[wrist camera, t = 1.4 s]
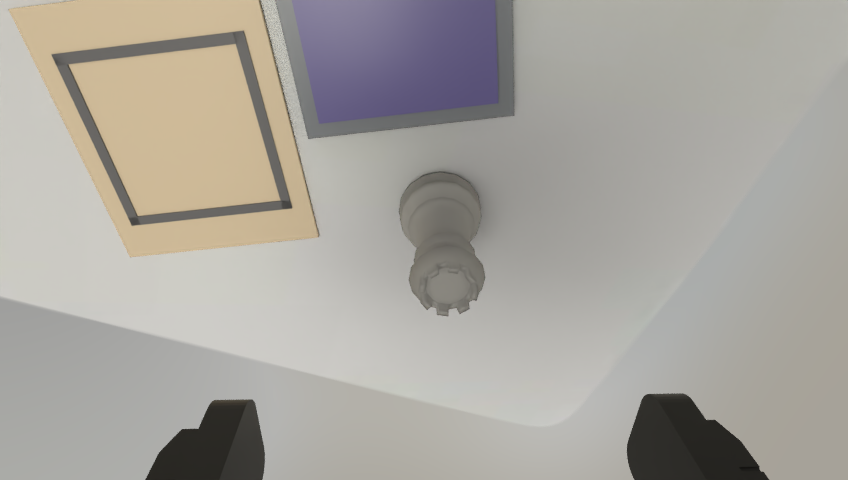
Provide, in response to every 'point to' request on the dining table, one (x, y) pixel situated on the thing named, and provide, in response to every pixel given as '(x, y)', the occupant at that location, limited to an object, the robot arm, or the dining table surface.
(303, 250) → the dining table surface
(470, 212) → the rook chess piece
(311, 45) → the ink pad
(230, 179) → the marked card
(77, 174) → the dining table surface
